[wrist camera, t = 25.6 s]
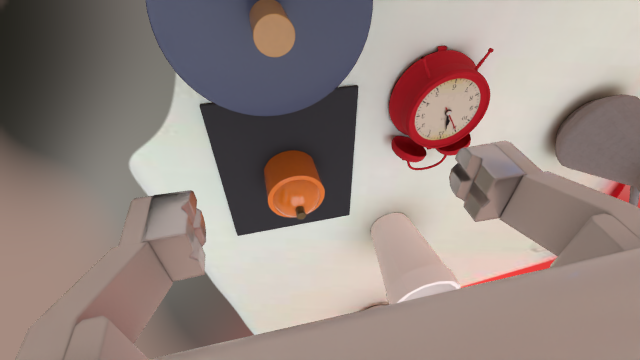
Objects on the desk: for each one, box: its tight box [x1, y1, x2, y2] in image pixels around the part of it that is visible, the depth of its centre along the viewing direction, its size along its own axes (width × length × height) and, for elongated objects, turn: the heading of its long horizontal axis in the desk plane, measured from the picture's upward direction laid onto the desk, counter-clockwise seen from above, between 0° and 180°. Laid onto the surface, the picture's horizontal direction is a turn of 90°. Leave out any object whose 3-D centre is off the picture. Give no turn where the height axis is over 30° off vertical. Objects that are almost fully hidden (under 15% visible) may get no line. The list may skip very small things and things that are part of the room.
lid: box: [146, 0, 373, 116], centre depth 22 cm, size 15×15×5 cm
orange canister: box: [263, 150, 325, 219], centre depth 37 cm, size 6×6×7 cm
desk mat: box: [200, 85, 358, 236], centre depth 40 cm, size 20×16×1 cm
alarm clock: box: [389, 46, 493, 170], centre depth 37 cm, size 10×6×15 cm
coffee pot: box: [555, 95, 640, 206], centre depth 45 cm, size 21×12×15 cm, turn 9°
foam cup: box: [370, 213, 460, 304], centre depth 48 cm, size 10×9×13 cm
